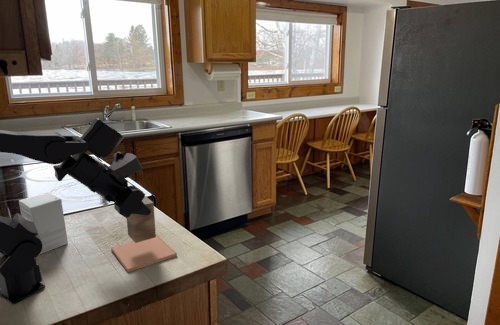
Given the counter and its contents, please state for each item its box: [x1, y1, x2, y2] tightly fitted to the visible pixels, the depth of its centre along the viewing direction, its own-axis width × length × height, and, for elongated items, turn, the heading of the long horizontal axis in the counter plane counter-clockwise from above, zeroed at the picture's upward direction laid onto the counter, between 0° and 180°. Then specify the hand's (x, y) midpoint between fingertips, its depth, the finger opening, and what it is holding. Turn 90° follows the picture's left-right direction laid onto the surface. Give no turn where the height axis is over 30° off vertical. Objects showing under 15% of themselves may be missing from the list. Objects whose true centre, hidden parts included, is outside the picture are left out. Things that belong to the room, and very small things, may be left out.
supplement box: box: [18, 192, 69, 255], centre depth 93 cm, size 7×7×13 cm
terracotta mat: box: [110, 233, 178, 273], centre depth 91 cm, size 12×12×1 cm
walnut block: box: [126, 195, 157, 243], centre depth 88 cm, size 5×5×9 cm
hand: (145, 209), depth 88 cm, fingers closed on walnut block, 5 cm apart
